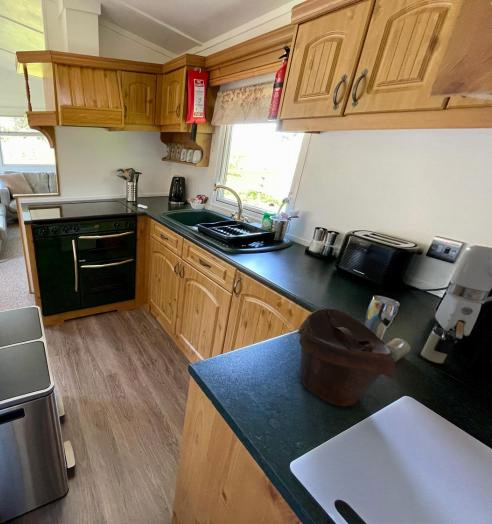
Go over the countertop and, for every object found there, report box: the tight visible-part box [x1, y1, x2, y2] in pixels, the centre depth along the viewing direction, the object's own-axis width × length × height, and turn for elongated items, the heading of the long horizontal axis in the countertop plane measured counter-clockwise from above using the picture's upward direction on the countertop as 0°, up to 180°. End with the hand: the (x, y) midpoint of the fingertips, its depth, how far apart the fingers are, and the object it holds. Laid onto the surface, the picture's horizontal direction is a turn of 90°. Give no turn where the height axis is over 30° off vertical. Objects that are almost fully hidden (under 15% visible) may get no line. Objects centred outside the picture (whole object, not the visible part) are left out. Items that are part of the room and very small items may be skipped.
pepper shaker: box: [420, 327, 452, 364], centre depth 84 cm, size 5×5×9 cm
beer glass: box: [364, 295, 401, 342], centre depth 91 cm, size 7×7×15 cm
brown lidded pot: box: [297, 307, 396, 407], centre depth 69 cm, size 18×20×18 cm
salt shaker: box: [384, 337, 411, 363], centre depth 85 cm, size 5×5×9 cm
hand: (438, 346), depth 84 cm, fingers closed on pepper shaker, 5 cm apart
